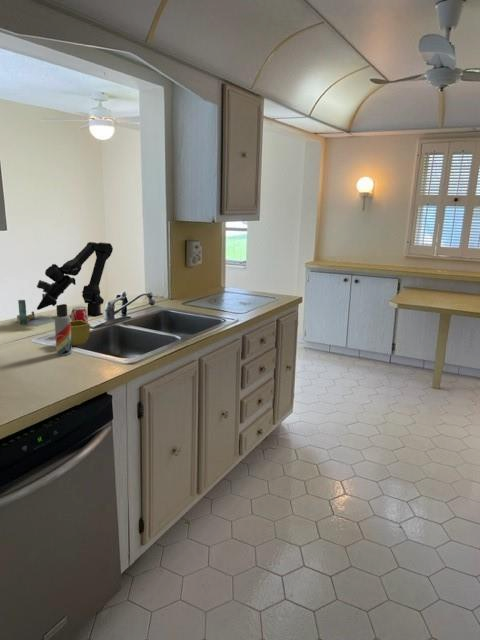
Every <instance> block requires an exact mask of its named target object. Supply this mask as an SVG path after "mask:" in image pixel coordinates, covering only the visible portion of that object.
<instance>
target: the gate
mask: <svg viewBox="0 0 480 640" xmlns="http://www.w3.org/2000/svg"><path fill="white" fill-rule="evenodd" d="M17 302H18V315H19V316H20V323H19V324H23V325H26V324H25V323H27V321H28V320H30V319H33V315H32V313H31V314H28V315H27V308H26V307H27V305H26V304H27V303H26V300H25V299H19V300H18V301H17Z"/></svg>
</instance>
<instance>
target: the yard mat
mask: <svg viewBox="0 0 480 640" xmlns="http://www.w3.org/2000/svg"><path fill="white" fill-rule="evenodd" d="M36 317H37V318H39V319H37V320H28V321H27V323H25V324H24V325H27V326H28V325H29V326H33V327H40V326H44V325H48V324H51V323H55V318H52V317H47V316H43V315H39V316H36ZM17 323H18V324H21V323H20V322H17Z"/></svg>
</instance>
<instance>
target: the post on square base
mask: <svg viewBox="0 0 480 640" xmlns="http://www.w3.org/2000/svg"><path fill="white" fill-rule="evenodd" d="M31 315H33V319H30V320H37V319H39V318H37V317H38V316H35V311H31Z"/></svg>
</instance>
